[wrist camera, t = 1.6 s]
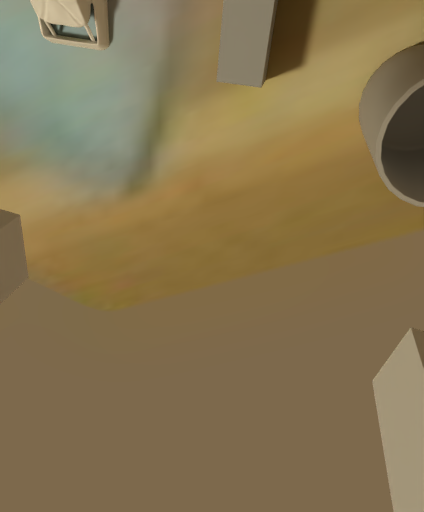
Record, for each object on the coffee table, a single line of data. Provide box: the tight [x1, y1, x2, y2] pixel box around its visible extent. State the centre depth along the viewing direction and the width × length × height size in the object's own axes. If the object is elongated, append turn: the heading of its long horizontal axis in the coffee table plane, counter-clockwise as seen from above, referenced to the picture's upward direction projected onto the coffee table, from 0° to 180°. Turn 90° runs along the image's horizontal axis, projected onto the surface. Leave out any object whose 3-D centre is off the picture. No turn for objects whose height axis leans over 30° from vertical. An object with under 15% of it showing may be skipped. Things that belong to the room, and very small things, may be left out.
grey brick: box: [217, 0, 278, 87], centre depth 24 cm, size 6×3×3 cm, turn 175°
